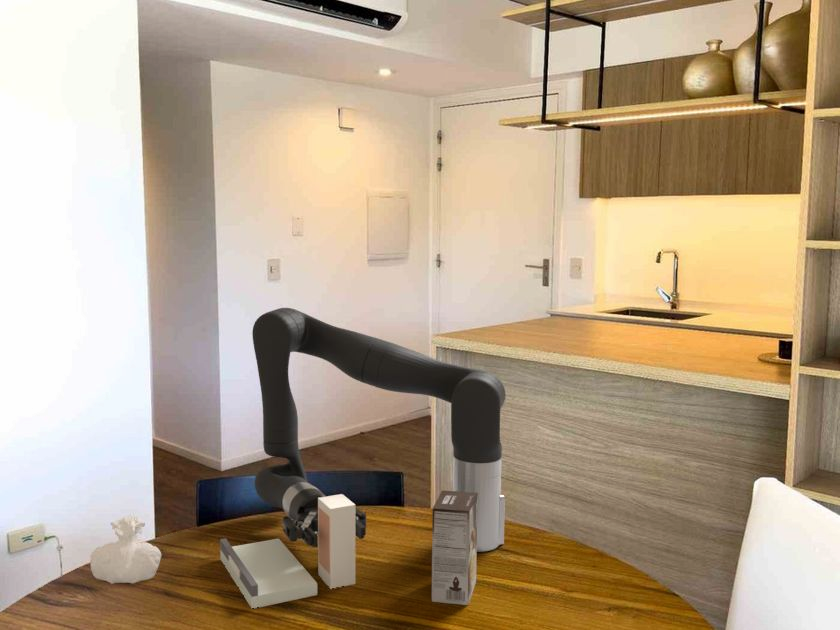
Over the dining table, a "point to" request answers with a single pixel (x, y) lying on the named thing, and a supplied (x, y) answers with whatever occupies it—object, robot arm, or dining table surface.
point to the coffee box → (454, 547)
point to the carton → (336, 540)
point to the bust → (125, 555)
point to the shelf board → (267, 572)
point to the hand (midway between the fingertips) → (339, 537)
